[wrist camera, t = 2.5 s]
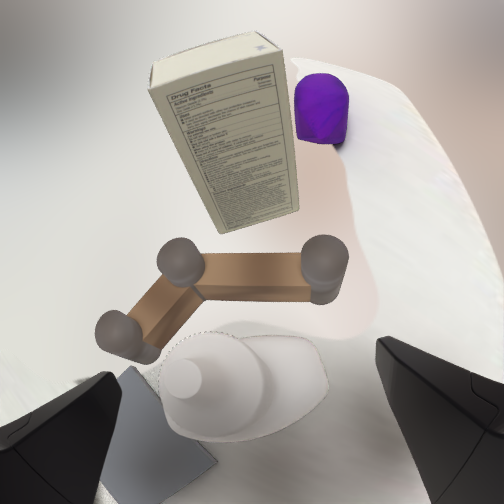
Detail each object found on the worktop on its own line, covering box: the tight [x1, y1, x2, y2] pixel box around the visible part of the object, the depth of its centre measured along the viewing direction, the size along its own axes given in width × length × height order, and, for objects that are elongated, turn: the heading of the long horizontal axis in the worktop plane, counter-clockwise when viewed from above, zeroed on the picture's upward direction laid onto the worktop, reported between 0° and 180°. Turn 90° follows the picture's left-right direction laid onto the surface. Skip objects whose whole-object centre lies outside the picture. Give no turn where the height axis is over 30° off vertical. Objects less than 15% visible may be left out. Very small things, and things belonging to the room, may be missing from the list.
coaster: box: [100, 366, 217, 504], centre depth 13 cm, size 8×8×1 cm
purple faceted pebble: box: [294, 73, 349, 144], centre depth 24 cm, size 5×5×15 cm
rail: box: [95, 235, 349, 365], centre depth 15 cm, size 13×8×4 cm, turn 136°
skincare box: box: [147, 31, 299, 234], centre depth 16 cm, size 6×4×12 cm
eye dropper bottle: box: [158, 331, 329, 443], centre depth 9 cm, size 4×6×12 cm
